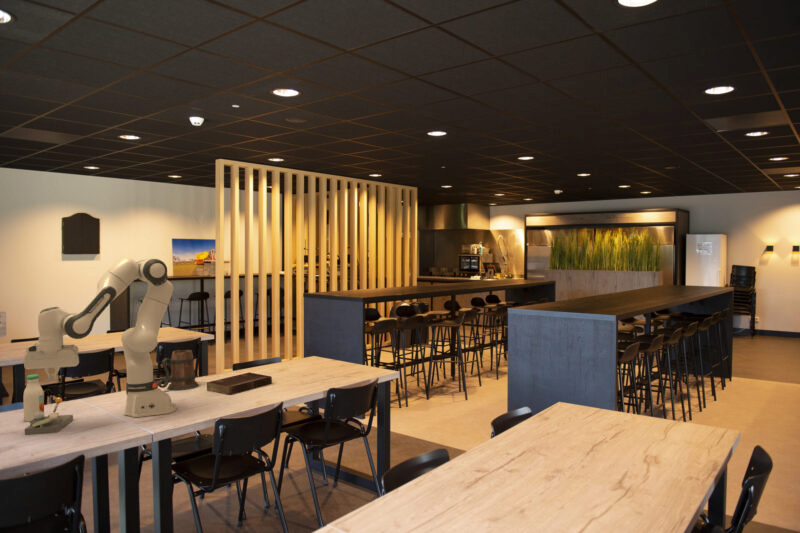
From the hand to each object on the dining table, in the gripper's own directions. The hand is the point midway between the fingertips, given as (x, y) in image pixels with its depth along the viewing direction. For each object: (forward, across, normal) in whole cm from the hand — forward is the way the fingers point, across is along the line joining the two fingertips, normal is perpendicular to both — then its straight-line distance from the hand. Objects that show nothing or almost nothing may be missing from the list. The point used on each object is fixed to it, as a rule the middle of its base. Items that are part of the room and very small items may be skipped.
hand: (52, 378), depth 240 cm
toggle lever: (+17, +3, -6) cm, 18 cm away
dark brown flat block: (+23, -72, -55) cm, 94 cm away
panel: (+21, +3, -2) cm, 22 cm away
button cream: (+18, 0, +1) cm, 18 cm away
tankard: (+22, -38, -63) cm, 77 cm away
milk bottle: (+22, +15, -17) cm, 31 cm away
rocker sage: (+18, +3, +5) cm, 19 cm away
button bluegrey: (+17, +6, +1) cm, 18 cm away
